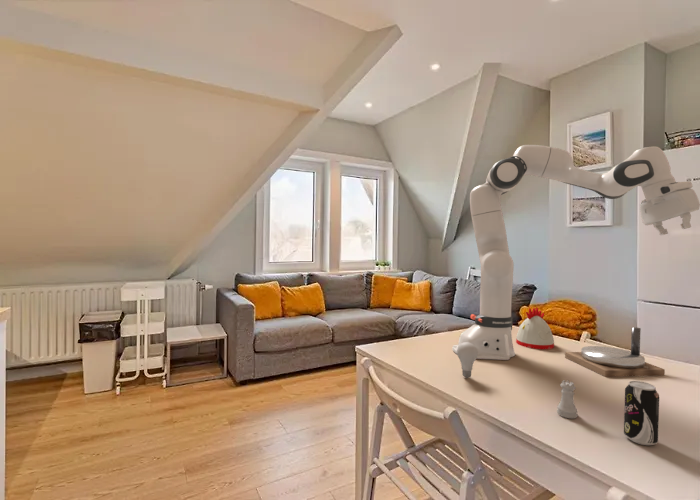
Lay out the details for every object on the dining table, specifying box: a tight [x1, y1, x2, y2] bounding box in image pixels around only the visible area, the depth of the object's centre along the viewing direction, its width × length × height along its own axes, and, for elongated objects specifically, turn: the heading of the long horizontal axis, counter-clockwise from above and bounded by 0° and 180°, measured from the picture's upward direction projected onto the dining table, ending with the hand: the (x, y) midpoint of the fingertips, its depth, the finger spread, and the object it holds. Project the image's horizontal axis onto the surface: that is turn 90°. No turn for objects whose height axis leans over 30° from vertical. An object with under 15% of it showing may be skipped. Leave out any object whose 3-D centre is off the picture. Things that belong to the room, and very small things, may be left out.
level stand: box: [564, 351, 666, 378], centre depth 126 cm, size 20×19×2 cm
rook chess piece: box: [556, 380, 579, 420], centre depth 90 cm, size 4×4×8 cm
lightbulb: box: [456, 342, 478, 379], centre depth 114 cm, size 6×6×11 cm
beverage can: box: [623, 380, 660, 447], centre depth 79 cm, size 6×6×12 cm
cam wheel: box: [580, 326, 646, 368], centre depth 126 cm, size 19×18×11 cm
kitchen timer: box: [515, 307, 555, 350], centre depth 152 cm, size 14×14×15 cm
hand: (675, 231), depth 123 cm, fingers open, 8 cm apart
